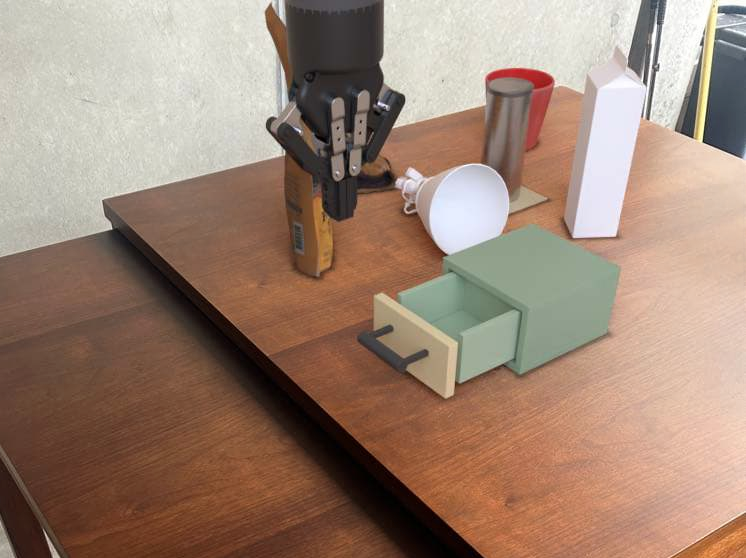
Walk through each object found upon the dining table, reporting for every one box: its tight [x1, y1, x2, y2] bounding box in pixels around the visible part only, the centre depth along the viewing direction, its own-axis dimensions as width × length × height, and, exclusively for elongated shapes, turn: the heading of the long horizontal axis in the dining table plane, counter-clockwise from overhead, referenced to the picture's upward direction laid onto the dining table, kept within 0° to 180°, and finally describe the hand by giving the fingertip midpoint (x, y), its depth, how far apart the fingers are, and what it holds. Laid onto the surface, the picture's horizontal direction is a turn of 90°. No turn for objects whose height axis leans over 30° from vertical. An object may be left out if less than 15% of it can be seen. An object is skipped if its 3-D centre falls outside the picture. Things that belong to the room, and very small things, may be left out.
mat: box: [508, 185, 549, 215], centre depth 127 cm, size 10×10×1 cm
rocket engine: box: [395, 163, 509, 256], centre depth 118 cm, size 12×12×18 cm
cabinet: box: [441, 222, 622, 376], centre depth 99 cm, size 14×14×8 cm
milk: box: [563, 44, 648, 239], centre depth 111 cm, size 6×6×22 cm
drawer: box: [356, 271, 522, 400], centre depth 94 cm, size 17×13×6 cm
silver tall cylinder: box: [480, 77, 534, 203], centre depth 121 cm, size 6×6×15 cm
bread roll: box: [357, 153, 397, 194], centre depth 132 cm, size 11×8×4 cm
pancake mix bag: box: [264, 1, 334, 278], centre depth 107 cm, size 7×19×28 cm, turn 4°
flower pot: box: [484, 67, 556, 151], centre depth 138 cm, size 11×11×10 cm
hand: (340, 216), depth 77 cm, fingers closed
